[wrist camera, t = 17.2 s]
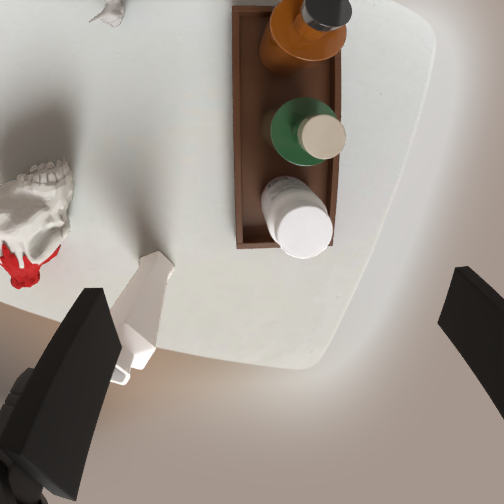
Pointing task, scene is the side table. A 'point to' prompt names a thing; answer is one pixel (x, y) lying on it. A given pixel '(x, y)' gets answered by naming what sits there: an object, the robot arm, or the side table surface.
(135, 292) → the white faceted vase
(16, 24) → the side table surface
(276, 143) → the green bottle
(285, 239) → the pill bottle
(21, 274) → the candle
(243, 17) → the tray
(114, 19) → the white animal figurine
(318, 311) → the side table surface
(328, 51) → the amber bottle
